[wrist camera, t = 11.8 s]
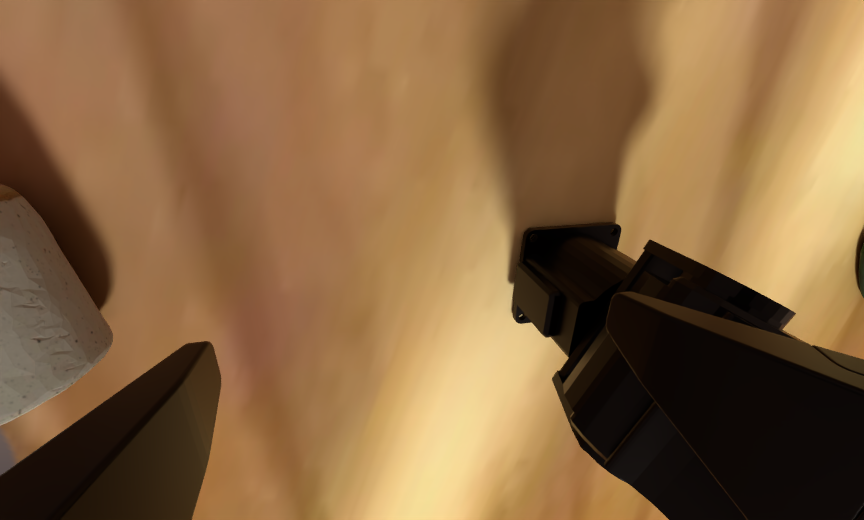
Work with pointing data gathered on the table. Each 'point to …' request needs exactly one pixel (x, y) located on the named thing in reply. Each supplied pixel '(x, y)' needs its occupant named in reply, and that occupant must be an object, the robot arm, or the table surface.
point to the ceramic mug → (41, 313)
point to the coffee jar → (861, 271)
